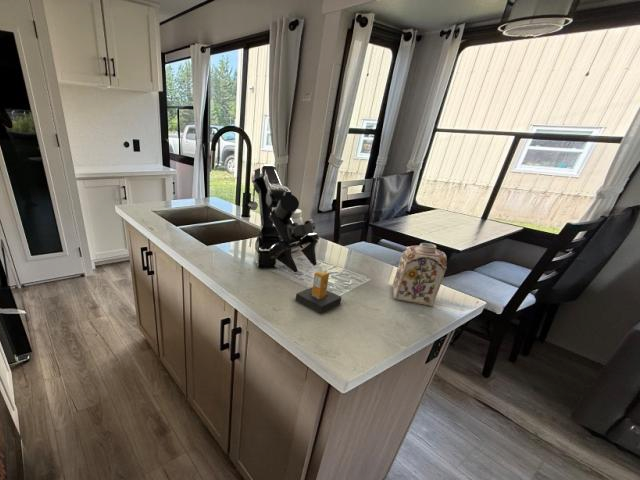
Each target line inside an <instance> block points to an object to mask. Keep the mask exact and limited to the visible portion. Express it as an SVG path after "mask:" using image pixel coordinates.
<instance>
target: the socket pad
mask: <svg viewBox="0 0 640 480" xmlns="http://www.w3.org/2000/svg"><path fill="white" fill-rule="evenodd" d="M312 289H313V286H312V287H308V288H307V289H304V290H301V291H299V292H297V293H296V294H295V300H294V301H295V302H297V303H299V304H301V305H303V306H305V307H307V308H309V309H311V310H312V311H314V312H317V313H319V315H320V314H323V313H324V312H326V311H329V310H331V309H333V308H335V307H337V306H339V305H341V303H342V302H341V301H342V296H341V295H338V294H336V293H333V292H331V291H329V290H327V291H326V297H325V298H323V299H318V298H316V297H313V296H312Z"/></svg>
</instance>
